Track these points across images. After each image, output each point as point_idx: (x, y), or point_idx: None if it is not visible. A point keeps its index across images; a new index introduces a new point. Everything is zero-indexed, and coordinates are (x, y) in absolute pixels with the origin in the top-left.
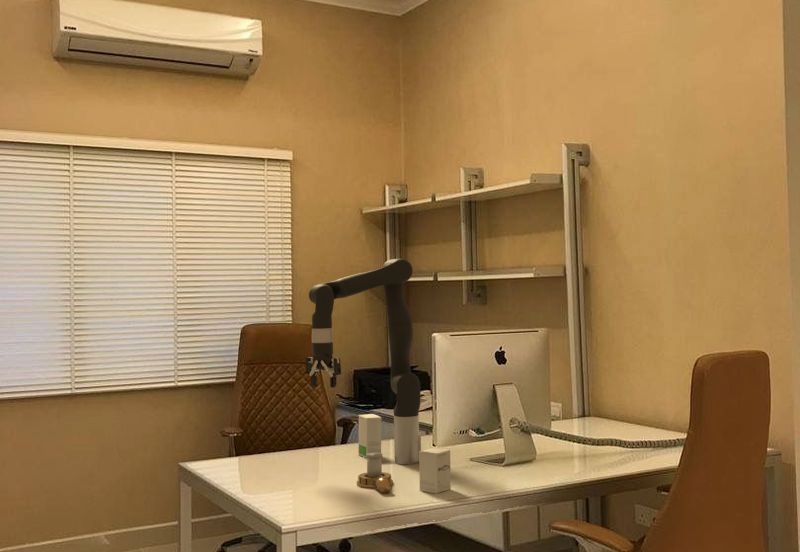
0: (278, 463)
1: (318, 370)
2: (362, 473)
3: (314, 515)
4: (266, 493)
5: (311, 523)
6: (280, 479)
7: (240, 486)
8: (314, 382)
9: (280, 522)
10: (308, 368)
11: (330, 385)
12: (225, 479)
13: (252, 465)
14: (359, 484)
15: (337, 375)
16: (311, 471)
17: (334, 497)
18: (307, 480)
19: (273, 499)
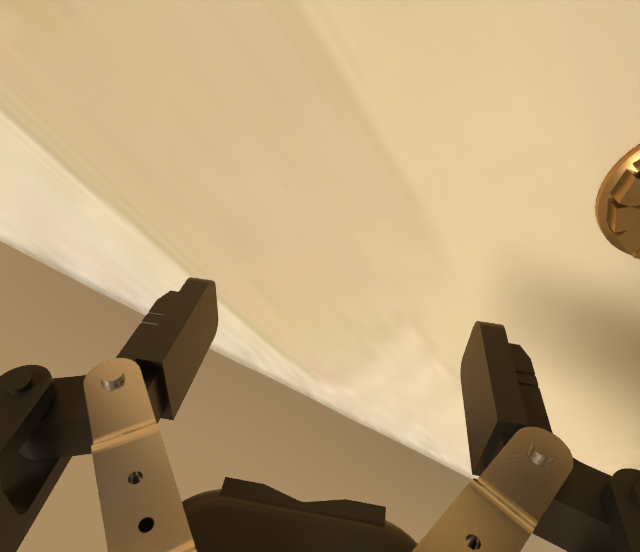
0: (88, 12)
1: (160, 437)
2: (623, 197)
3: None
4: (369, 370)
5: None
6: (300, 243)
7: (257, 336)
8: (199, 338)
9: None
10: (39, 507)
11: (465, 386)
12: (158, 290)
13: (44, 95)
14: (621, 249)
15: (590, 472)
16: (320, 97)
17: (573, 361)
18: (392, 227)
19: (420, 404)
